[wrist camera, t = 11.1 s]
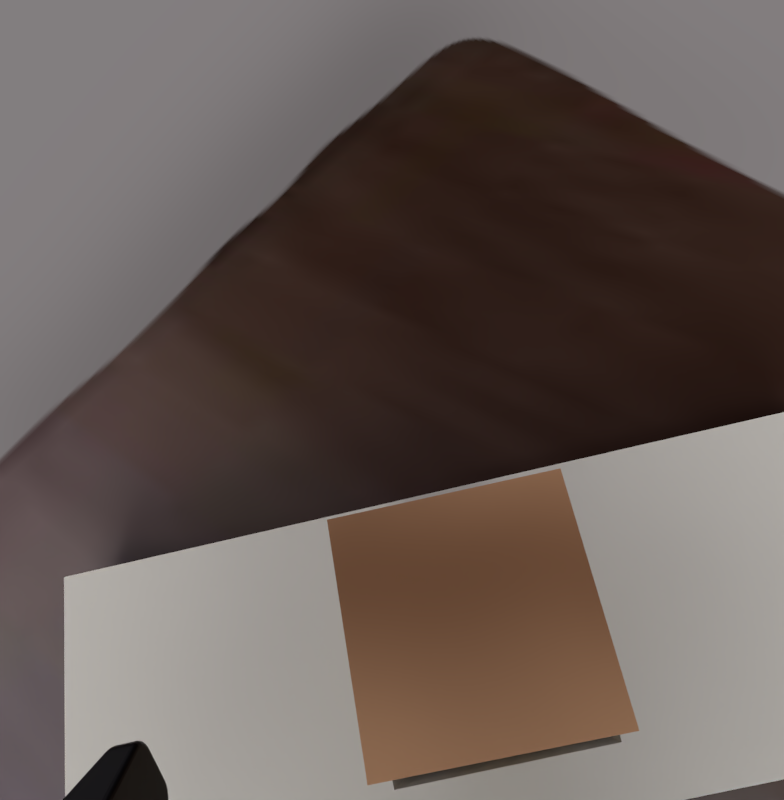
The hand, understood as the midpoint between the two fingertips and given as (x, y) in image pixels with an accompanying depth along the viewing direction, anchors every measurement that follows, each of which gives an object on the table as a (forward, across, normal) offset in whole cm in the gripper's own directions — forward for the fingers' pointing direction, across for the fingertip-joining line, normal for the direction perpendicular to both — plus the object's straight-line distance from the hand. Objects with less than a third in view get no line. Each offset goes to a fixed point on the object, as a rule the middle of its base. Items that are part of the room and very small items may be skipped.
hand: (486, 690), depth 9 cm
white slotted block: (+10, 0, +9) cm, 14 cm away
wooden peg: (+10, 0, +9) cm, 14 cm away
